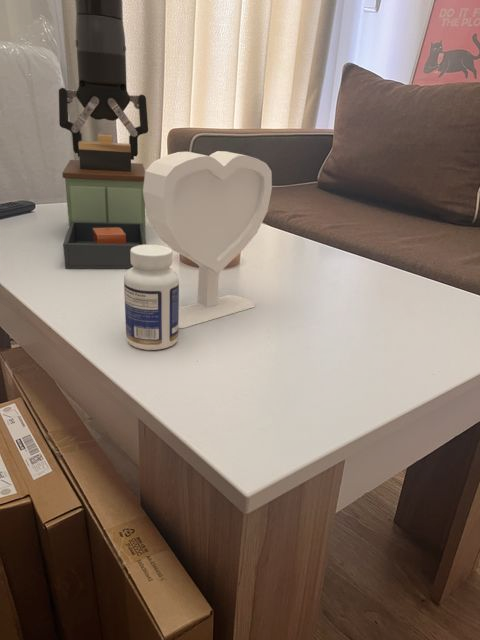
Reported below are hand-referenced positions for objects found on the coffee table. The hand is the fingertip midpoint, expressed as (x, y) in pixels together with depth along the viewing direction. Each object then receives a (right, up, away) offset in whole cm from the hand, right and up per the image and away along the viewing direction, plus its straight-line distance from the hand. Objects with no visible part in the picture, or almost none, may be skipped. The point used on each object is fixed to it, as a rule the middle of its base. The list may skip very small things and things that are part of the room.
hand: (106, 157), depth 91 cm
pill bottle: (+16, -33, -36) cm, 51 cm away
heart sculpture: (+20, -29, -27) cm, 44 cm away
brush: (0, -2, -1) cm, 2 cm away
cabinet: (0, -12, +2) cm, 13 cm away
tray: (+3, -19, -11) cm, 22 cm away
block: (+6, -19, -16) cm, 25 cm away
